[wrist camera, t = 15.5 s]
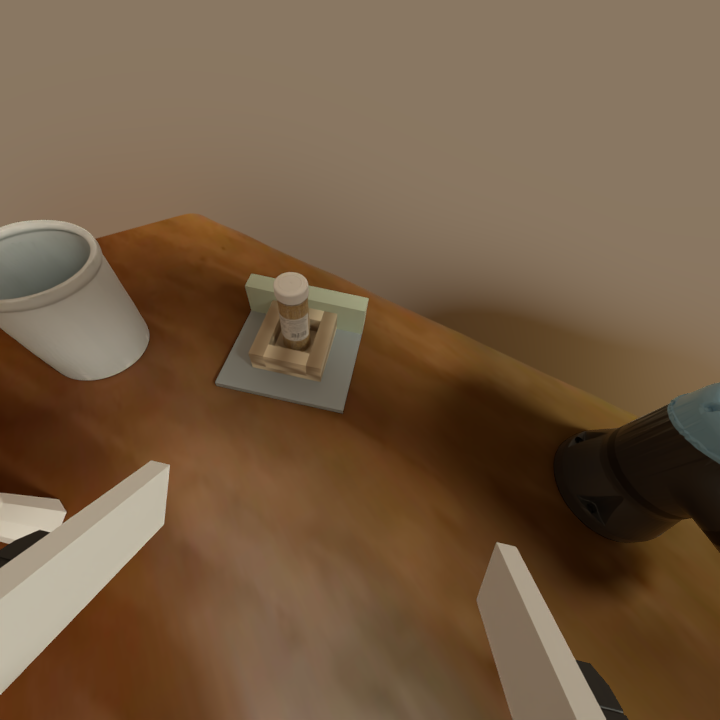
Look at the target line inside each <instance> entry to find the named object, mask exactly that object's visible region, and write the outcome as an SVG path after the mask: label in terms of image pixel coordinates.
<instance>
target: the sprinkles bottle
mask: <svg viewBox="0 0 720 720" xmlns="http://www.w3.org/2000/svg"><path fill="white" fill-rule="evenodd" d="M273 288H274V294H275V297H276V299H277V304H278V312H279V318H280V324H281V330H282V334H283V344H284V346H285V348H287V349H292V350H296V351H301V352H303V351H305V350H306V349H308V347H309V346H310V344H311V338H310V318H309V309H308V294H309V288H308V282H307V280H306V278H305V277H304V276H303V275H301V274H299V273H295V272H287V273H283V274H281V275H279V276H278V277H277V278H276V279H275V280H274V283H273Z"/></svg>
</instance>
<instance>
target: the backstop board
mask: <svg viewBox="0 0 720 720" xmlns="http://www.w3.org/2000/svg"><path fill="white" fill-rule="evenodd" d="M274 280H275V278H271V277H266V276H261V275H256V274H251V275H250V277H249V279H248V281H247V283H246V285H245V289H246V292H247V296H248V300H249V304H250V307H251V312H250V314H249V316H248V318H247V320H246V322H245V324H244V326H243V328H242V330H241V332H240V334H239V336H238V338H237V340H236V342H235V344H234V346H233V348H232V350H231V352H230V354H229V356H228V358H227V360H226V362H225V364H224V366H223V368H222V370H221V372H220V374H219V376H218V377H217V379H216V381H215V384H216V385H217V386H220V387H225V388H229V389H234V390H238V391H243V392H247V393H252V394H256V395H261V396H265V397H270V398H274V399H279V400H283V401H288V402H293V403H297V404H302V405H306V406H311V407H315V408H320V409H324V410H329V411H333V412H338V413H342V414H343V410H344V406H345V402H346V397H347V393H348V389H349V385H350V381H351V377H352V373H353V369H354V364H355V360H356V356H357V352H358V348H359V344H360V340H361V336H362V331H363V327H364V322H365V317H366V311H367V305H368V299H369V298H365V297H360V296H355V295H351V294H346V293H341V292H336V291H332V290H327V289H322V288H318V287H313V286H308V288H309V294H308V308H312V309H317V310H322V311H326V312H331V313H336V314H337V329H336V332H335V336H334V339H333V342H332V346H331V349H330V352H329V356H328V359H327V362H326V366H325V369H324V372H323V376H322V379H321V382H318V381H313V380H309V379H304V378H300V377H295V376H291V375H286V374H282V373H277V372H272V371H268V370H263V369H259V368H254V367H253V366H252V363H251V360H250V357H249V354H248V353H249V350H250V348H251V346H252V344H253V342H254V340H255V338H256V335H257V333H258V331H259V329H260V327H261V325H262V323H263V320H264V318H265V316H266V314H267V312H268V310H269V308H270V305H271V303H272V301H273V300H275V301H277V299H276V297H275V294H274V288H273V283H274Z"/></svg>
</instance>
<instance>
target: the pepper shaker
mask: <svg viewBox="0 0 720 720" xmlns="http://www.w3.org/2000/svg"><path fill="white" fill-rule="evenodd" d="M65 515H66V510H65V509H64V507H63V505H62V504H61V502H60V500H59V499H51V498H43V497H34V496H25V495H17V494H8V493H0V542H4V543H8V544H10V543H12V542H13V541H15V540H17V539H19V538H22V537H24V536H26V535H28V534H31V533H33V532H35V531H38V530H43V531H47V532H52V531H53V530H55V529H56V528H57V527H59V526H60V525H62V522H63V520H64V517H65Z"/></svg>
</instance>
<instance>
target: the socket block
mask: <svg viewBox="0 0 720 720" xmlns="http://www.w3.org/2000/svg"><path fill="white" fill-rule="evenodd" d="M308 309H309V318H310V338H311V344H310V346H309V347H308V349H306V350H305V351H303V352H301V351H296V350H292V349H287V348H285V346H284V344H283V334H282V330H281V324H280V318H279V312H278V304H277V301H275V300H273V301H272V303H271V305H270V308H269V310H268V312H267V314H266V316H265V318H264V320H263V323H262V325H261V327H260V329H259V331H258V333H257V335H256V338H255V340H254V342H253V344H252V346H251V348H250V350H249V353H248V354H249V357H250V360H251V363H252V366H253V367H254V368H259V369H263V370H268V371H272V372H277V373H282V374H286V375H291V376H295V377H300V378H304V379H309V380H313V381H318V382H321V379H322V376H323V372H324V369H325V366H326V362H327V359H328V356H329V352H330V349H331V346H332V342H333V339H334V336H335V332H336V329H337V314H336V313H331V312H326V311H322V310H317V309H312V308H308Z"/></svg>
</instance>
